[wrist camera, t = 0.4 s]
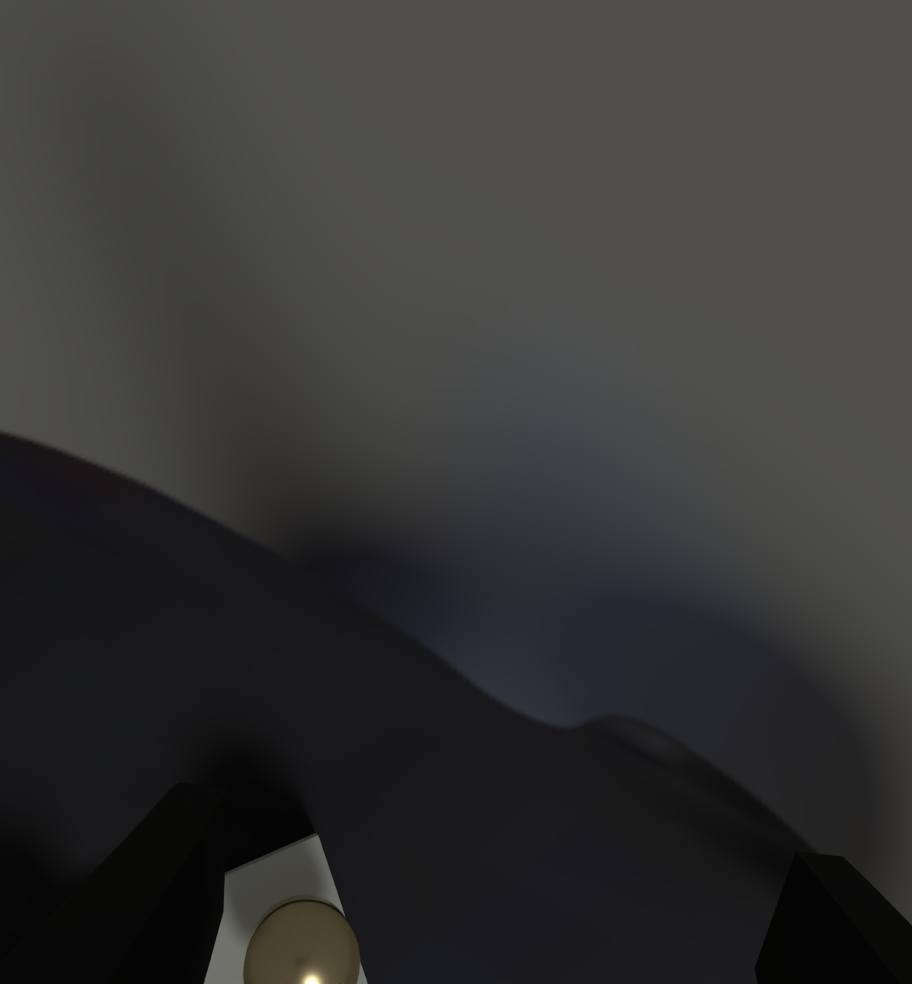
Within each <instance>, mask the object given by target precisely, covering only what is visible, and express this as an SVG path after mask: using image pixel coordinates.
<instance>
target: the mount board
mask: <svg viewBox="0 0 912 984" xmlns="http://www.w3.org/2000/svg"><path fill="white" fill-rule="evenodd" d="M303 894H306V895H314V896H319V897H321V898H324V899H326V900H328V901H330V902H331V903H332V904H334V905H335V906H336V907H337V908H338V909H339V910H340V911H341V912H342V913H343V915H344V912H343V909H342V906H341V903H340V900H339V897H338V894H337V891H336V888H335V885H334V882H333V879H332V876H331V873H330V870H329V867H328V864H327V861H326V858H325V855H324V852H323V849H322V846H321V842H320V839H319V836H318V835H317V833H314V834H312V835H310V836H308V837H305V838H303V839H301V840H298V841H296V842H294V843H292V844H289V845H287V846H285V847H282V848H280V849H278V850H276V851H273V852H271V853H269V854H266V855H264V856H262V857H260V858H257V859H255V860H253V861H250V862H248V863H246V864H244V865H241V866H239V867H237V868H234V869H232V870H230V871H228V872H225V887H224V912H223V916H222V920H221V923H220V927H219V931H218V934H217V938H216V942H215V946H214V949H213V953H212V957H211V960H210V964H209V967H208V971H207V974H206V978H205V982H204V984H244V982H243V967H244V960H245V954H246V949H247V945H248V941H249V938H250V935H251V933H252V930H253V929H254V927H255V925H256V923H257V922H258V920H259V919H260V918H261V916H262V915H263V914H264V913H265V912H266V911H267V910H268V909H269V908H270V907H272V906H273V905H274V904H276V903H277V902H279V901H281V900H283V899H285V898H288V897H291V896H295V895H303ZM344 916H345V915H344ZM357 984H367V981H366V978H365V975H364V972H363V969H362V966H361V963H360V969H359V976H358V981H357Z"/></svg>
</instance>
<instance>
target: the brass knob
mask: <svg viewBox="0 0 912 984" xmlns="http://www.w3.org/2000/svg"><path fill="white" fill-rule="evenodd" d="M359 969H360V954H359V947H358V944H357V940H356V937H355V935H354V933H353V931H352V929H351V927H350V925H349V923H348V921H347V920H346V918H345V916H344V915H343V913H342V912H341V911H340V910H339V909H338V908H337V907H336V906H335V905H334V904H332V903H331V902H330V901H328V900H326V899H324V898H321V897H319V896H314V895H306V894H303V895H295V896H291V897H288V898H285V899H283V900H281V901H279V902H277V903H276V904H274V905H273V906H272V907H270V908H269V909H268V910H267V911H266V912H265V913H264V914H263V915H262V916H261V918H260V919H259V920H258V922H257V923H256V925H255V927H254V929H253V930H252V933H251V935H250V938H249V941H248V945H247V949H246V954H245V960H244V967H243V982H244V984H357V981H358V976H359Z"/></svg>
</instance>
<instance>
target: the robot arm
mask: <svg viewBox="0 0 912 984" xmlns="http://www.w3.org/2000/svg"><path fill="white" fill-rule="evenodd" d="M227 802H228V788H223V787H214V786H205V785H196V784H187V783H178V784H176V785H175V786H173V787H172V788H171V789H169V791H168V792H167V793H166V794H165V795H164V796H163V797H162V799H161V800H160V801H159V802H158V803H157V804H156V805H155V806H154V808H153V809H152V810H151V811H150V812H149V813H148V814H147V815H146V817H145V818H144V819H143V820H142V821H141V822H140V823H139V824H138V825H137V826H136V828H135V829H134V830H133V831H132V832H131V833H130V834H129V835H128V836H127V837H126V838H125V839H124V841H123V842H122V843H121V844H120V845H119V846H118V847H117V848H116V849H115V850H114V851H113V852H112V853H111V854H110V855H109V856H108V857H107V858H106V859H105V861H104V862H103V863H102V864H101V865H100V866H99V867H98V868H97V869H96V870H95V871H94V872H93V873H92V874H91V875H90V876H89V877H88V878H87V879H86V880H85V881H84V882H83V883H82V884H81V885H80V886H79V887H78V888H77V889H76V890H75V891H74V892H73V893H72V894H71V895H70V896H69V897H68V898H67V899H66V900H65V901H64V902H63V903H62V904H61V905H60V906H59V907H58V908H57V909H56V910H55V911H54V912H53V913H52V914H51V915H50V916H49V917H48V918H47V919H46V920H44V921H43V922H42V923H41V924H40V925H39V926H38V927H37V928H36V929H35V930H34V931H33V932H32V933H31V934H30V935H28V936H27V937H26V938H25V939H24V940H23V941H22V942H21V943H20V944H19V945H17V946H16V947H15V948H14V949H13V950H12V951H11V952H10V953H9V954H8V955H6V956H5V957H4V958H3V959H2V960H1V961H0V984H204V982H205V978H206V974H207V971H208V967H209V964H210V960H211V957H212V953H213V949H214V946H215V942H216V938H217V934H218V931H219V927H220V923H221V920H222V916H223V912H224V887H225V859H226V831H227ZM755 973H756V978H757V982H758V984H912V925H911V924H910V923H909V922H908V921H907V920H906V919H905V918H904V917H903V916H902V915H901V914H900V913H899V912H898V911H897V910H896V909H895V908H894V907H893V906H892V905H891V904H890V903H889V902H888V901H887V900H886V899H885V898H884V897H883V896H882V895H881V893H880V892H879V891H878V890H876V888H874V886H872V884H871V883H870V882H869V881H868V880H867V879H865V878H864V877H863V876H862V875H861V874H860V873H859V872H858V871H857V870H856V869H855V868H854V867H853V866H852V865H851V864H850V863H849V862H848V861H847V860H846V859H845V858H843V857H841V856H832V855H823V854H814V853H805V852H795V855H794V858H793V860H792V863H791V866H790V869H789V872H788V875H787V878H786V880H785V883H784V886H783V889H782V892H781V895H780V897H779V900H778V903H777V906H776V909H775V912H774V914H773V917H772V920H771V923H770V926H769V929H768V932H767V934H766V937H765V940H764V943H763V946H762V949H761V951H760V954H759V957H758V960H757V963H756V966H755Z"/></svg>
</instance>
